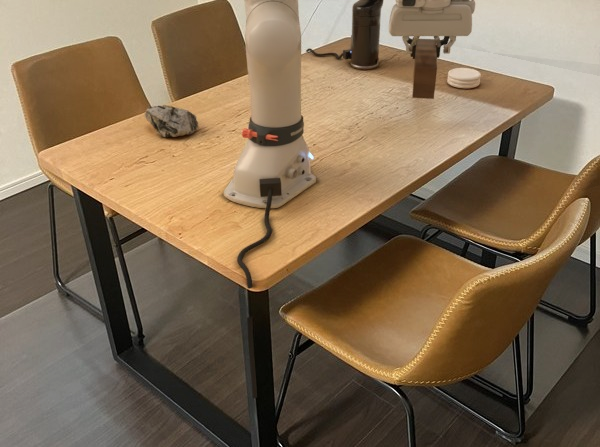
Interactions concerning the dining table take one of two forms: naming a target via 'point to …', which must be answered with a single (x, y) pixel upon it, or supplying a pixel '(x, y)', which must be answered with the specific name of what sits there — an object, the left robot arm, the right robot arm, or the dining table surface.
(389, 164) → the dining table surface
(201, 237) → the dining table surface
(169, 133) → the rock
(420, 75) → the bar
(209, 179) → the dining table surface
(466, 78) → the coaster
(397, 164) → the dining table surface
